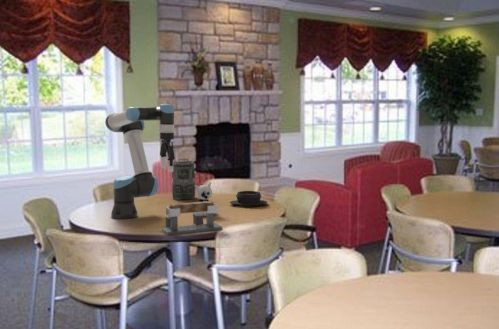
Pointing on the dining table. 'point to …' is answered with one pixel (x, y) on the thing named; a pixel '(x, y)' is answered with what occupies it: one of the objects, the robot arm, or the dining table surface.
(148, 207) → the dining table surface
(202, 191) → the decorative figurine
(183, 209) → the rail
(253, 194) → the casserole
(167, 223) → the rests
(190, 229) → the bracket stand
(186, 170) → the canister
